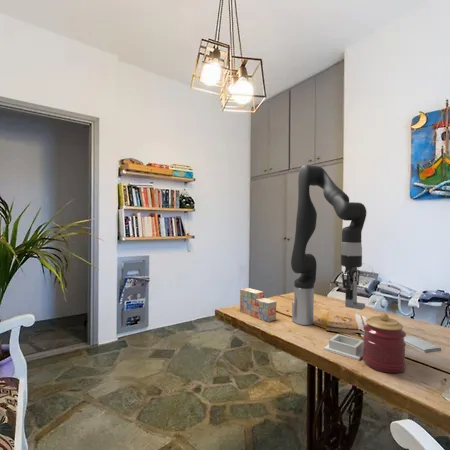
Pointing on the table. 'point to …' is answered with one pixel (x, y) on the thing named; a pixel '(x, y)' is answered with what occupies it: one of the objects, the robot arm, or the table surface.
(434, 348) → the hard drive
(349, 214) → the robot arm
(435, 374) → the table surface
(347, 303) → the block
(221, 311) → the table surface
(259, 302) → the stack of blocks
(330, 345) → the dock
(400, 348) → the canister
